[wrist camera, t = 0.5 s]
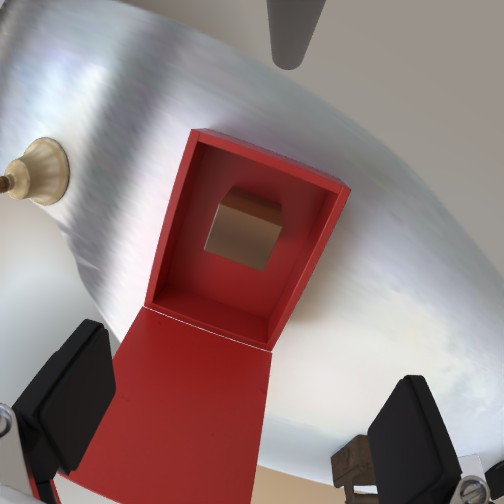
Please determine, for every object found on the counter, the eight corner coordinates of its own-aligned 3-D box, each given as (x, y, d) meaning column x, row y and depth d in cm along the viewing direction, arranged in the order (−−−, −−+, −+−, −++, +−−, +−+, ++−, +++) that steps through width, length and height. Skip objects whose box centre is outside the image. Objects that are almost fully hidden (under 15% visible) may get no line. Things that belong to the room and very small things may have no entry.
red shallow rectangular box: (205, 128, 28) (191, 128, 23) (339, 178, 29) (351, 189, 24) (160, 281, 35) (143, 306, 30) (272, 322, 36) (271, 352, 31)
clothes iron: (390, 464, 48) (400, 518, 36) (327, 455, 47) (331, 518, 34) (417, 444, 45) (432, 500, 33) (354, 433, 44) (364, 501, 31)
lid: (56, 472, 14) (68, 484, 17) (244, 536, 15) (226, 538, 18) (142, 305, 30) (138, 336, 32) (272, 352, 30) (255, 378, 33)
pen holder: (514, 456, 51) (524, 480, 42) (494, 474, 55) (502, 497, 46) (497, 460, 51) (507, 486, 42) (477, 478, 55) (485, 503, 46)
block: (232, 185, 30) (218, 203, 23) (281, 204, 30) (282, 227, 23) (218, 223, 31) (203, 250, 25) (266, 241, 31) (263, 272, 25)
